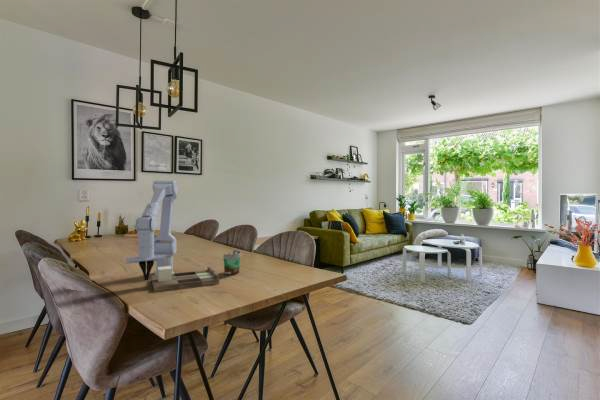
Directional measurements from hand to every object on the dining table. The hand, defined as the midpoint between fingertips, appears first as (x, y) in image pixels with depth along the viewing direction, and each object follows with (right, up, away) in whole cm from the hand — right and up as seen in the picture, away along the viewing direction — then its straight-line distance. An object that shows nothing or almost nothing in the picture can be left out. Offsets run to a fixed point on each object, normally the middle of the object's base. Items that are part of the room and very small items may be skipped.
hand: (146, 279), depth 128 cm
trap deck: (+13, -3, +7) cm, 15 cm away
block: (+6, -1, +3) cm, 7 cm away
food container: (+31, -3, +23) cm, 39 cm away
